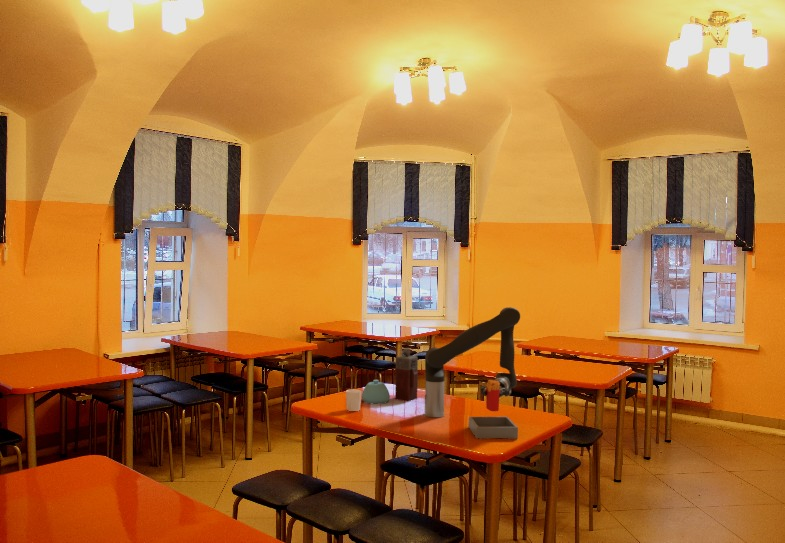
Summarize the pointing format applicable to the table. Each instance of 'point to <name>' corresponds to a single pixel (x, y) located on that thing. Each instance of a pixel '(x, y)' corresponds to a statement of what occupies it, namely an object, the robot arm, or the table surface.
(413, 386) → the brown coffee grinder
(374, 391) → the sugar bowl
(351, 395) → the white cup
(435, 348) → the robot arm
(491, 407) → the french fries
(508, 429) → the bin
